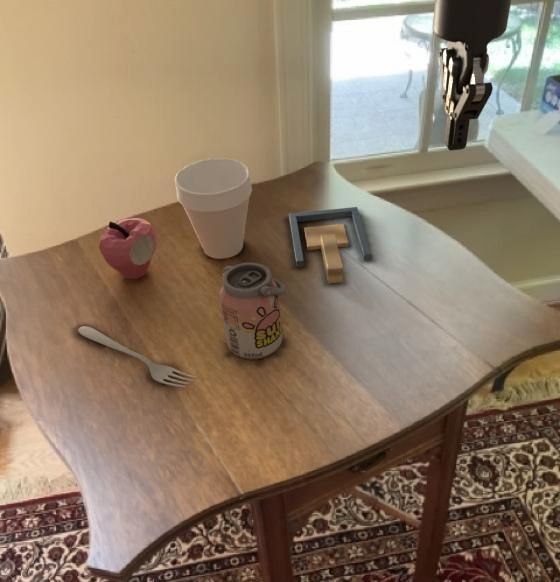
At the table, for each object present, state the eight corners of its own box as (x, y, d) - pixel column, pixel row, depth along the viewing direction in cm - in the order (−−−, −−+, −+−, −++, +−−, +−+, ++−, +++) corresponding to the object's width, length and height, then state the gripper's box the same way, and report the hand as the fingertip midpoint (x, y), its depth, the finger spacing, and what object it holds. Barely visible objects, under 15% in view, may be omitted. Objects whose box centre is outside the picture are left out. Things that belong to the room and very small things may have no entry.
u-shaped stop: (371, 260, 109) (371, 253, 108) (296, 267, 109) (296, 261, 108) (357, 212, 120) (357, 206, 119) (289, 219, 120) (288, 213, 119)
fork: (87, 322, 102) (84, 313, 101) (201, 384, 91) (199, 375, 89) (71, 334, 100) (68, 325, 99) (185, 398, 89) (183, 389, 88)
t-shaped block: (357, 281, 105) (357, 266, 103) (313, 285, 105) (313, 270, 103) (343, 227, 116) (343, 213, 114) (304, 231, 116) (303, 217, 114)
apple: (126, 295, 106) (111, 243, 100) (98, 274, 111) (82, 223, 104) (174, 269, 111) (162, 217, 104) (145, 250, 116) (132, 199, 109)
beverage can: (260, 314, 101) (252, 247, 92) (300, 337, 96) (296, 269, 88) (215, 345, 96) (203, 278, 88) (255, 371, 92) (246, 303, 83)
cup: (218, 277, 108) (206, 203, 99) (174, 249, 115) (158, 178, 106) (272, 245, 114) (266, 172, 104) (227, 221, 121) (217, 150, 111)
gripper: (535, -3, 61) (504, 170, 73) (492, -38, 70) (470, 120, 83) (454, 4, 61) (436, 177, 73) (422, -31, 70) (411, 126, 83)
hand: (454, 146), depth 78 cm, fingers closed
